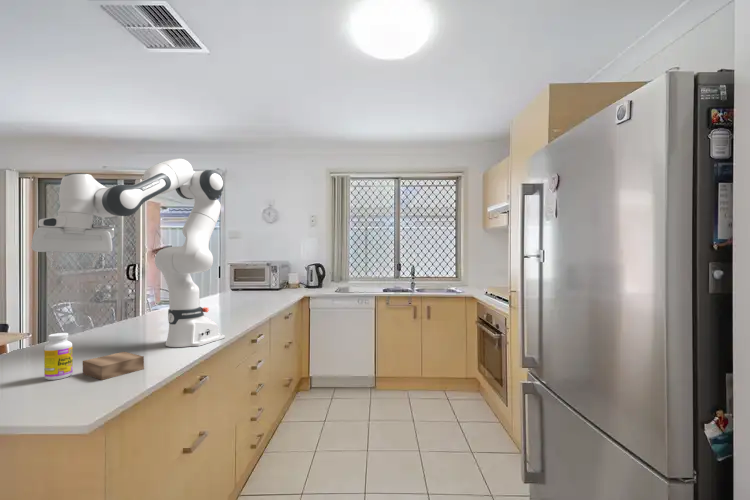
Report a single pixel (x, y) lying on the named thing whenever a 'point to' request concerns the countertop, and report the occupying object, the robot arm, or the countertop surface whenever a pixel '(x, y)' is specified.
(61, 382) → the countertop surface
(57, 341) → the supplement bottle
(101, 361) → the walnut base
